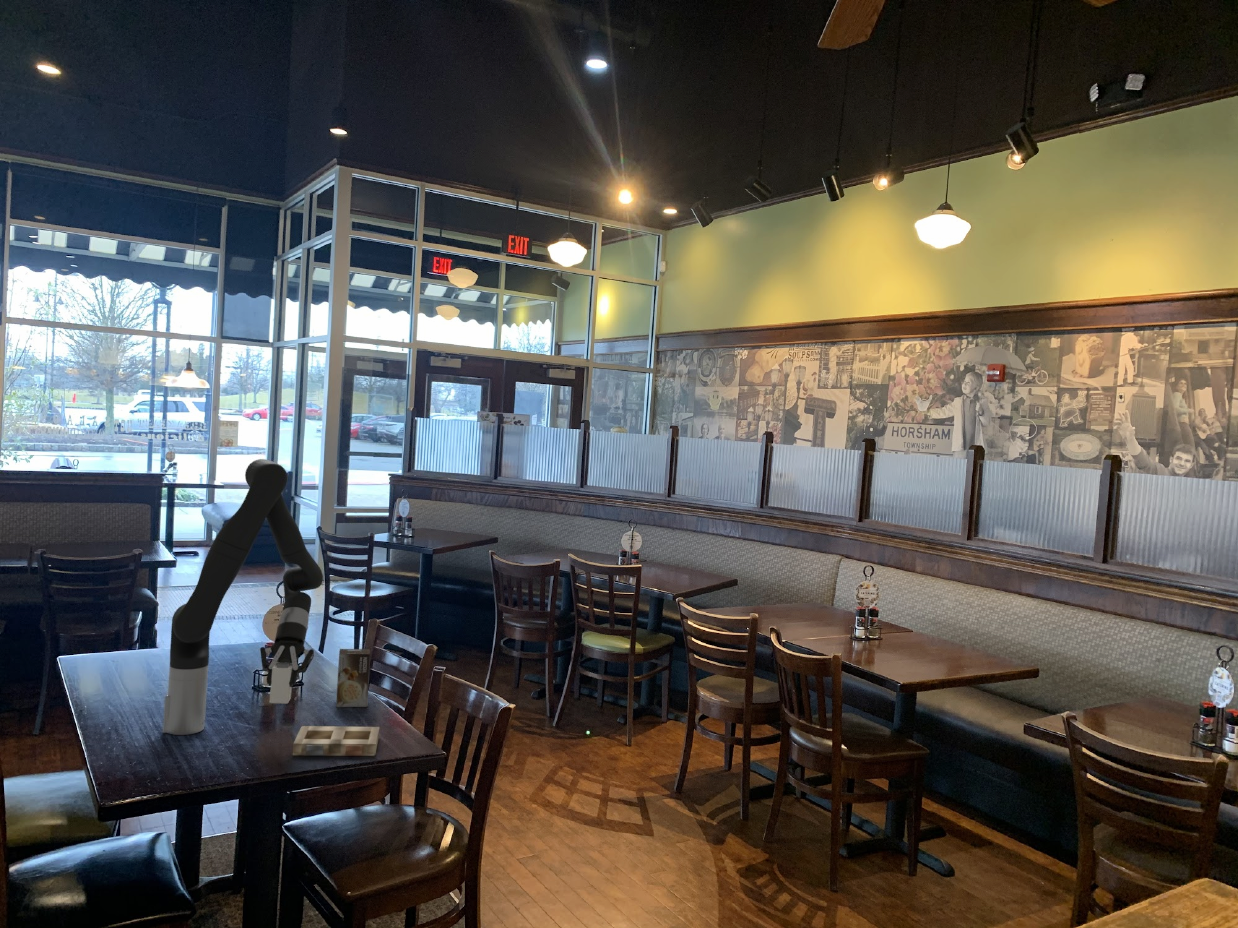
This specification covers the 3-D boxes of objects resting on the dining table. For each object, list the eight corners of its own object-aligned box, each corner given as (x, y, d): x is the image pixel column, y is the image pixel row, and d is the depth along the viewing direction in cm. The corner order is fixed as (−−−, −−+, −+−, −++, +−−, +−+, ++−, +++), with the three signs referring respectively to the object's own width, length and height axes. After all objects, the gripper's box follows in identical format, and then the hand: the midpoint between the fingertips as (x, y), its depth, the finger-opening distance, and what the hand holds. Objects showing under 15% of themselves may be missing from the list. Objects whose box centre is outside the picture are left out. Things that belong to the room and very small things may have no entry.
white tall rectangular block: (269, 702, 223) (272, 665, 223) (272, 697, 227) (275, 661, 227) (287, 703, 224) (291, 666, 223) (290, 698, 228) (294, 661, 228)
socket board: (292, 755, 217) (293, 744, 217) (301, 737, 231) (301, 725, 231) (374, 756, 221) (375, 744, 221) (378, 737, 235) (379, 726, 234)
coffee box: (367, 700, 265) (371, 648, 265) (367, 707, 259) (371, 653, 259) (336, 700, 263) (339, 648, 262) (335, 707, 257) (338, 653, 256)
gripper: (263, 619, 231) (249, 676, 219) (319, 621, 234) (308, 678, 222) (265, 634, 236) (252, 691, 225) (320, 636, 239) (310, 693, 228)
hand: (280, 684), depth 223 cm, fingers closed on white tall rectangular block, 4 cm apart
